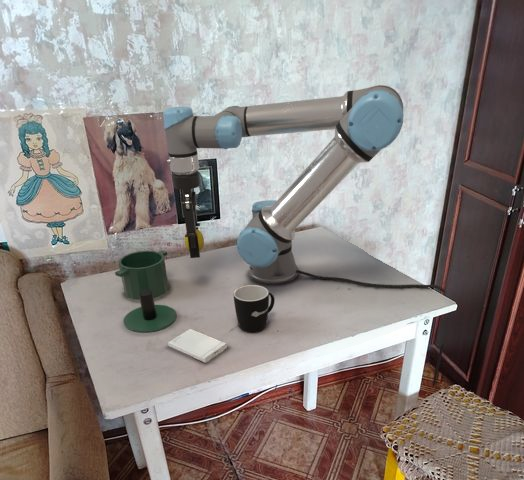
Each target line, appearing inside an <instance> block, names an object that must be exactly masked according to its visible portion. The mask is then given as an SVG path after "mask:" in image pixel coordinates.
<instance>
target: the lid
mask: <svg viewBox="0 0 524 480" xmlns="http://www.w3.org/2000/svg"><path fill="white" fill-rule="evenodd" d="M139 298H140V300H139V302H140V306H139V307H137V308H134V309H132V310H130V311H129V312H128V313H127V314H126V315H125V316H124V318H123V325H124V327H125V328H126V329H127V330H129V331H131V332H133V333H134V332H135V333H142V334H143V333H145V334H146V333H155V332H159V331H162V330H165V329H167V328H168V327H170V326H172V325H173V324H174V323H175V321H176V320H177V311H176V310H175V309H174V308H173V307H171V306H168V305H164V304H155V298H153V292H152V291H151V290H142V291H140V292H139Z"/></svg>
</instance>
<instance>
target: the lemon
mask: <svg viewBox="0 0 524 480" xmlns="http://www.w3.org/2000/svg"><path fill="white" fill-rule="evenodd" d="M196 233H197V236H198V244H199V252H201V251H202V250H203V248H204V245H205V239H204V235H203V233H202V231H201V230H199V228H198V229H196ZM185 235H187V231H186V232H185V233H184V245H185V248H186V250H187V251H189V243H188V237H185Z"/></svg>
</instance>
